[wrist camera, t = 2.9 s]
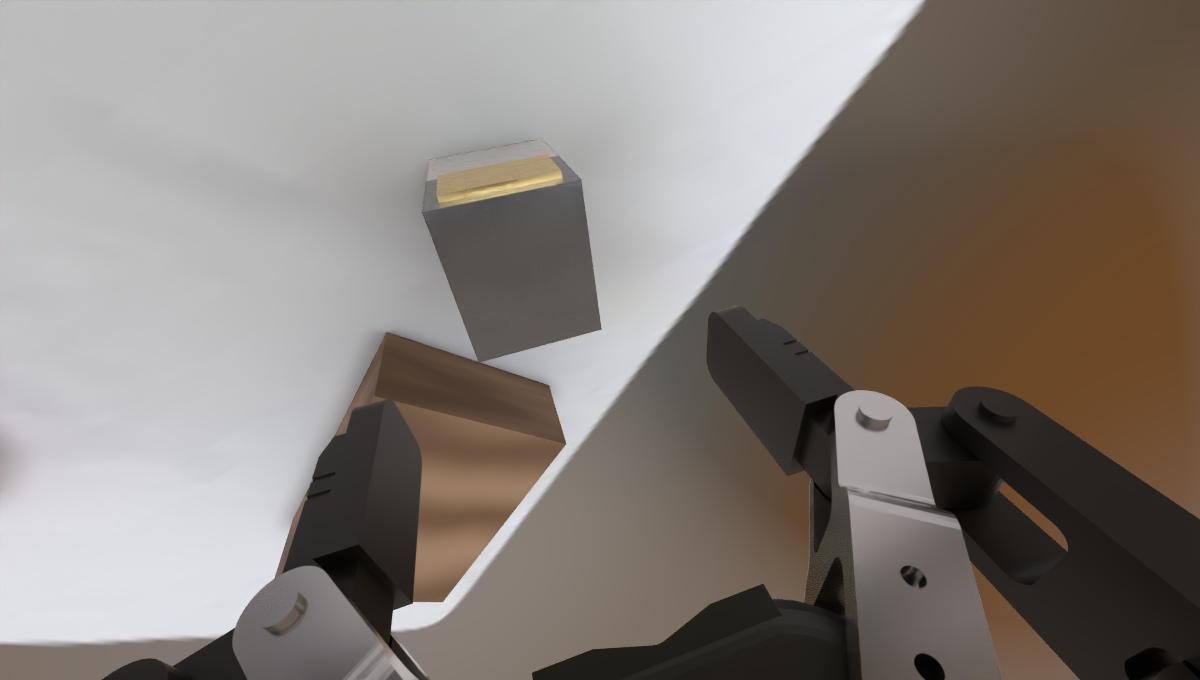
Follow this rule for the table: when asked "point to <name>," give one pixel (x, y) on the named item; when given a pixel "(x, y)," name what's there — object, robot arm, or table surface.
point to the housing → (513, 246)
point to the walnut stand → (460, 450)
